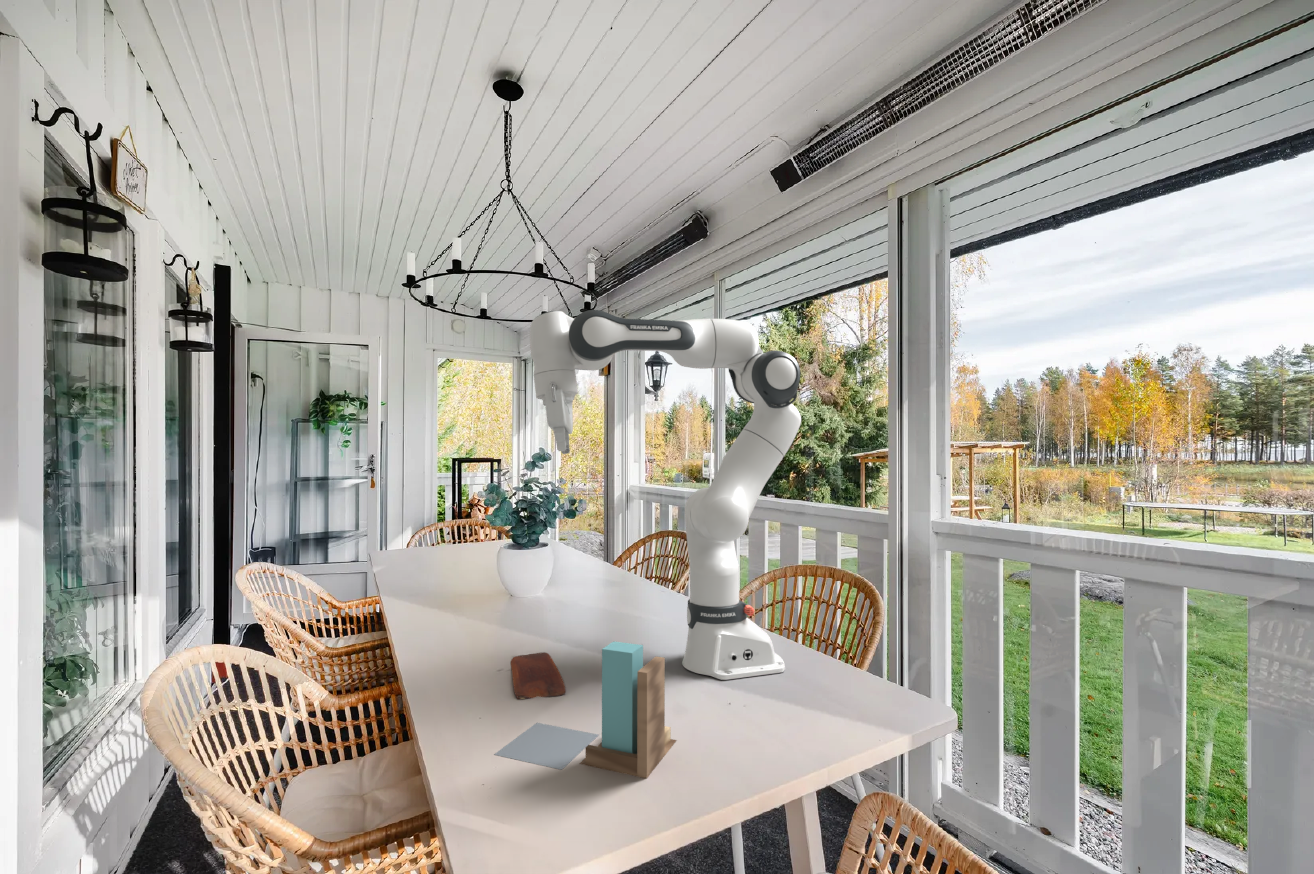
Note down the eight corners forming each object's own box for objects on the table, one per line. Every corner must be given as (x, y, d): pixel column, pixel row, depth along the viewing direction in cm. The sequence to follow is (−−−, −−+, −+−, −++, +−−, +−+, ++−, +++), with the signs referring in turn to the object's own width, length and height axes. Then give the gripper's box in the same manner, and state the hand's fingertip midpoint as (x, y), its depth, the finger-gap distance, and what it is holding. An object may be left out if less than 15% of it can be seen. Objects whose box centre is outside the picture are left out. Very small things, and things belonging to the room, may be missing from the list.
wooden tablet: (567, 698, 121) (567, 689, 121) (515, 704, 119) (515, 695, 119) (552, 654, 147) (552, 647, 147) (509, 658, 144) (509, 650, 144)
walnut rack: (615, 734, 105) (615, 639, 105) (676, 746, 101) (676, 646, 101) (579, 770, 93) (579, 662, 93) (646, 785, 89) (647, 672, 89)
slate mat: (536, 728, 107) (536, 722, 107) (599, 740, 103) (599, 734, 103) (493, 760, 96) (494, 754, 96) (561, 776, 91) (561, 769, 91)
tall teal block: (613, 750, 97) (613, 641, 97) (642, 756, 95) (643, 645, 96) (601, 762, 93) (602, 648, 94) (632, 768, 92) (632, 653, 92)
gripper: (567, 377, 122) (575, 446, 121) (574, 393, 142) (581, 453, 141) (535, 380, 122) (543, 450, 120) (546, 397, 142) (553, 457, 141)
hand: (564, 452), depth 131 cm, fingers open, 8 cm apart
